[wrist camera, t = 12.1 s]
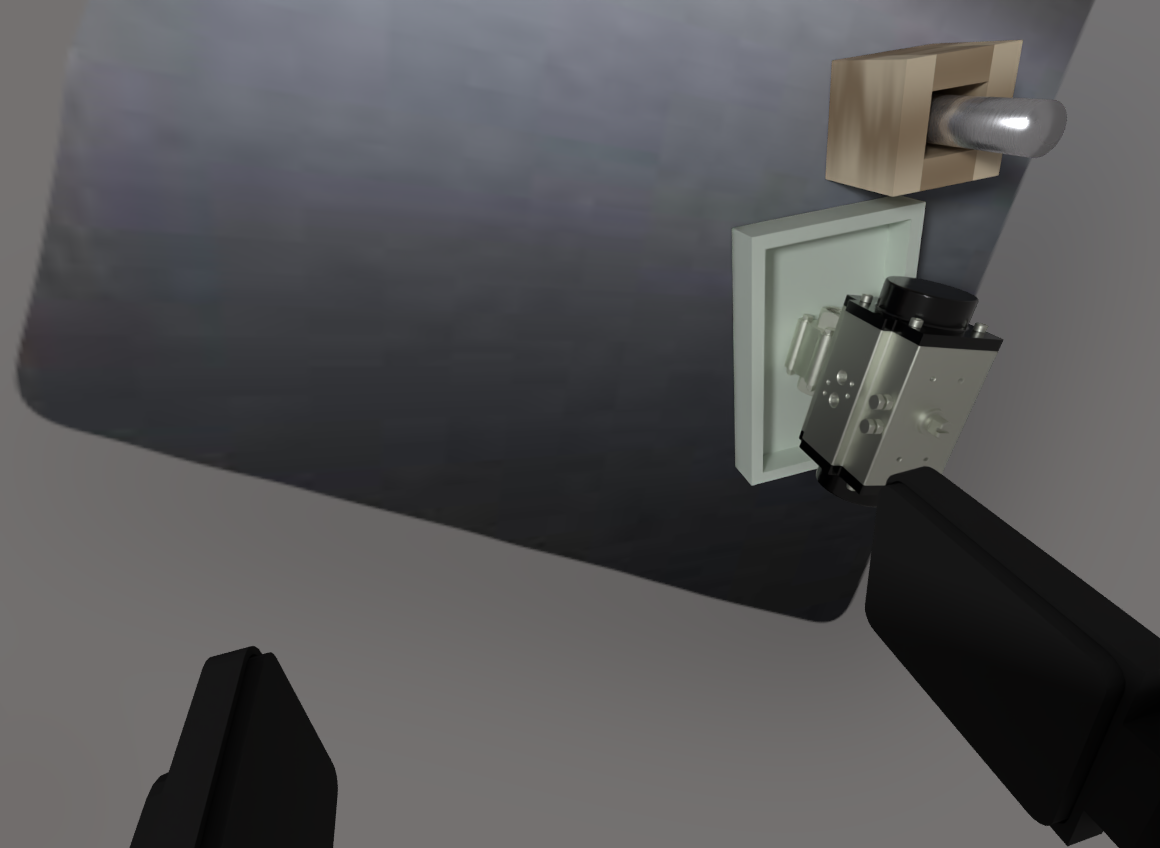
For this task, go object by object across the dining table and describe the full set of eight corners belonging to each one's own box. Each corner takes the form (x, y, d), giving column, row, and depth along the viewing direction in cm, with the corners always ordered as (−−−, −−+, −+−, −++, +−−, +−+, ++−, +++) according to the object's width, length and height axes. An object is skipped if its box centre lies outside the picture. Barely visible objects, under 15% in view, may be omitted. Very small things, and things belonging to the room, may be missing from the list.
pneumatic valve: (874, 254, 40) (1037, 318, 30) (815, 424, 45) (937, 529, 35) (795, 245, 38) (939, 310, 28) (743, 422, 44) (849, 531, 33)
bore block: (832, 60, 35) (906, 59, 30) (933, 43, 36) (1022, 39, 30) (825, 179, 38) (892, 196, 33) (918, 161, 39) (998, 175, 33)
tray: (731, 227, 38) (751, 237, 36) (897, 194, 39) (925, 202, 37) (735, 466, 46) (751, 485, 44) (871, 431, 48) (893, 448, 45)
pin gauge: (861, 94, 36) (1025, 104, 26) (897, 88, 36) (1072, 95, 27) (858, 137, 37) (1014, 162, 28) (893, 131, 37) (1059, 153, 28)
